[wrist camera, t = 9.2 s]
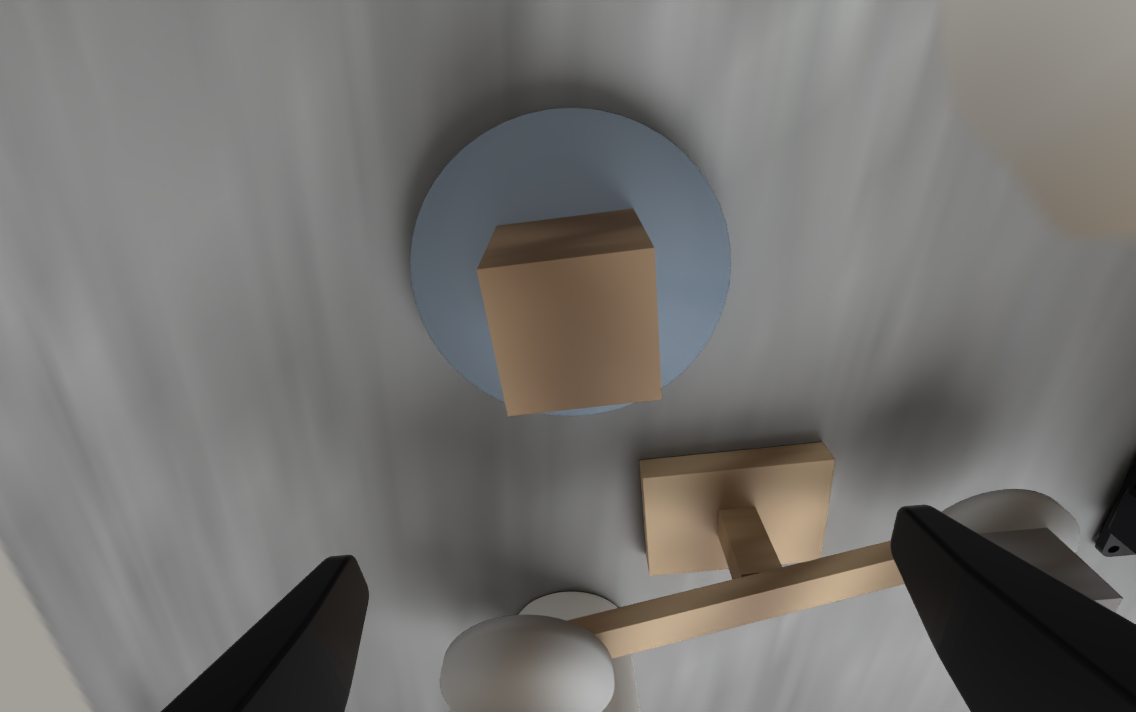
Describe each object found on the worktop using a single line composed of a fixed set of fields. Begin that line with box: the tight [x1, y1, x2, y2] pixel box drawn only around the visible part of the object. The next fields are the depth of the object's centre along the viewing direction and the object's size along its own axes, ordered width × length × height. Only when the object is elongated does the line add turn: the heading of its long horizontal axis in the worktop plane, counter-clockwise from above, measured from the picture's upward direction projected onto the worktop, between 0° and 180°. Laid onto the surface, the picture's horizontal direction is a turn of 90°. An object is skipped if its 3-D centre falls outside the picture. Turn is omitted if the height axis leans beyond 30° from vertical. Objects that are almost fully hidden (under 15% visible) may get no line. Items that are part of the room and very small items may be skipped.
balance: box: [440, 442, 1123, 712], centre depth 21 cm, size 24×6×8 cm, turn 97°
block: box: [477, 208, 662, 416], centre depth 16 cm, size 4×4×4 cm
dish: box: [410, 107, 731, 416], centre depth 19 cm, size 11×11×1 cm
